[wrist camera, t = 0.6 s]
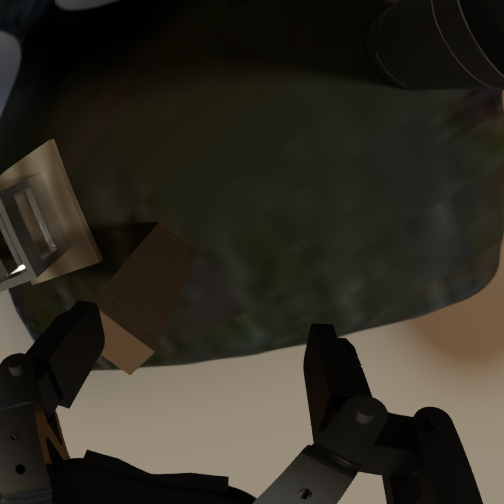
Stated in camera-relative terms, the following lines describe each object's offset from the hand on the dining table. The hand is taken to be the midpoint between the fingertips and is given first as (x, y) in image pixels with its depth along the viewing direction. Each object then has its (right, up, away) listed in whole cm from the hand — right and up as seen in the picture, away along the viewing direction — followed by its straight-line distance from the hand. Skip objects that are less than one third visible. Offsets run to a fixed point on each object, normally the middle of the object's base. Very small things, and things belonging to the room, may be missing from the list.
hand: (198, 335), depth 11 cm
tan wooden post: (-7, +3, +24) cm, 25 cm away
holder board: (-25, +7, +23) cm, 35 cm away
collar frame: (-25, +7, +23) cm, 35 cm away
